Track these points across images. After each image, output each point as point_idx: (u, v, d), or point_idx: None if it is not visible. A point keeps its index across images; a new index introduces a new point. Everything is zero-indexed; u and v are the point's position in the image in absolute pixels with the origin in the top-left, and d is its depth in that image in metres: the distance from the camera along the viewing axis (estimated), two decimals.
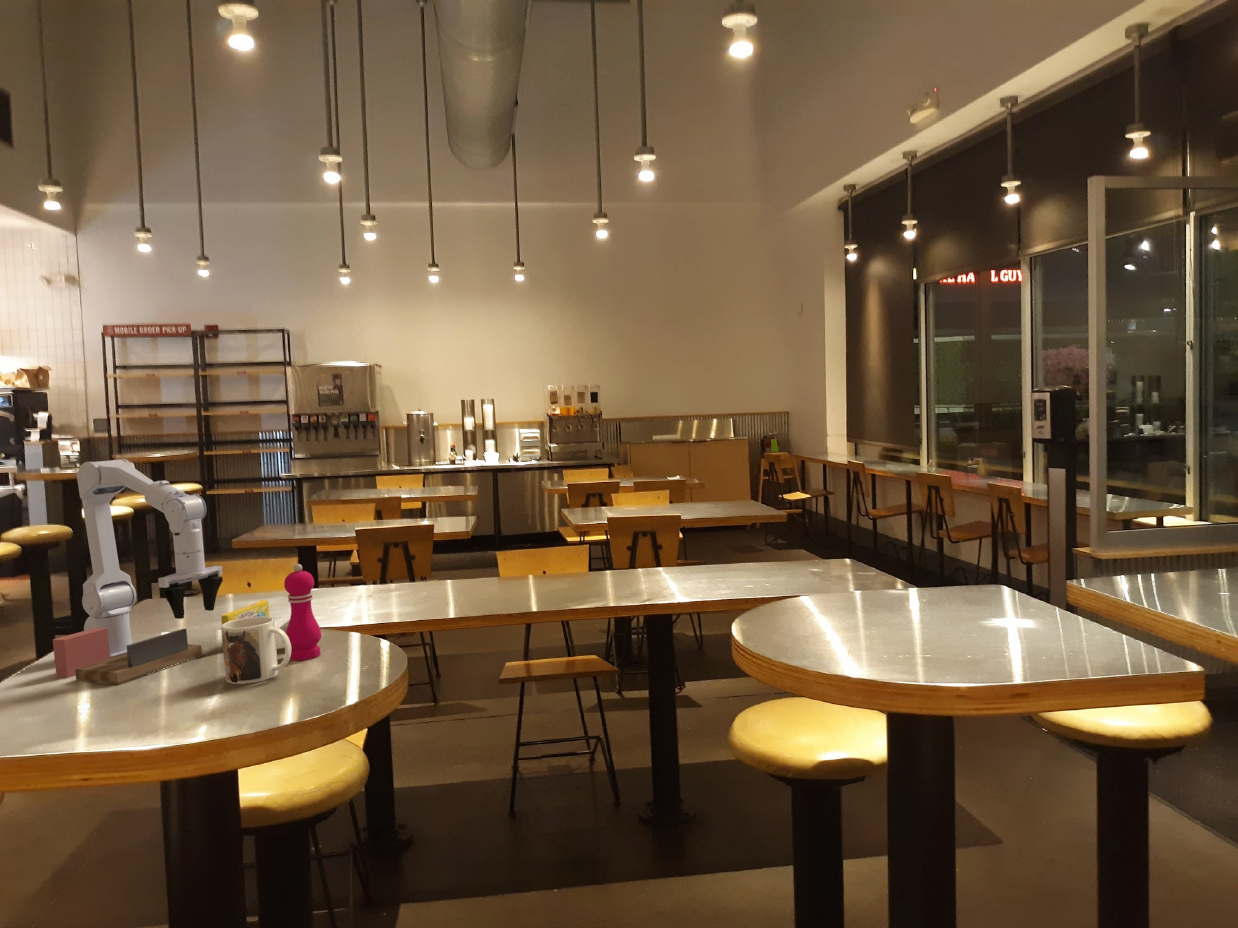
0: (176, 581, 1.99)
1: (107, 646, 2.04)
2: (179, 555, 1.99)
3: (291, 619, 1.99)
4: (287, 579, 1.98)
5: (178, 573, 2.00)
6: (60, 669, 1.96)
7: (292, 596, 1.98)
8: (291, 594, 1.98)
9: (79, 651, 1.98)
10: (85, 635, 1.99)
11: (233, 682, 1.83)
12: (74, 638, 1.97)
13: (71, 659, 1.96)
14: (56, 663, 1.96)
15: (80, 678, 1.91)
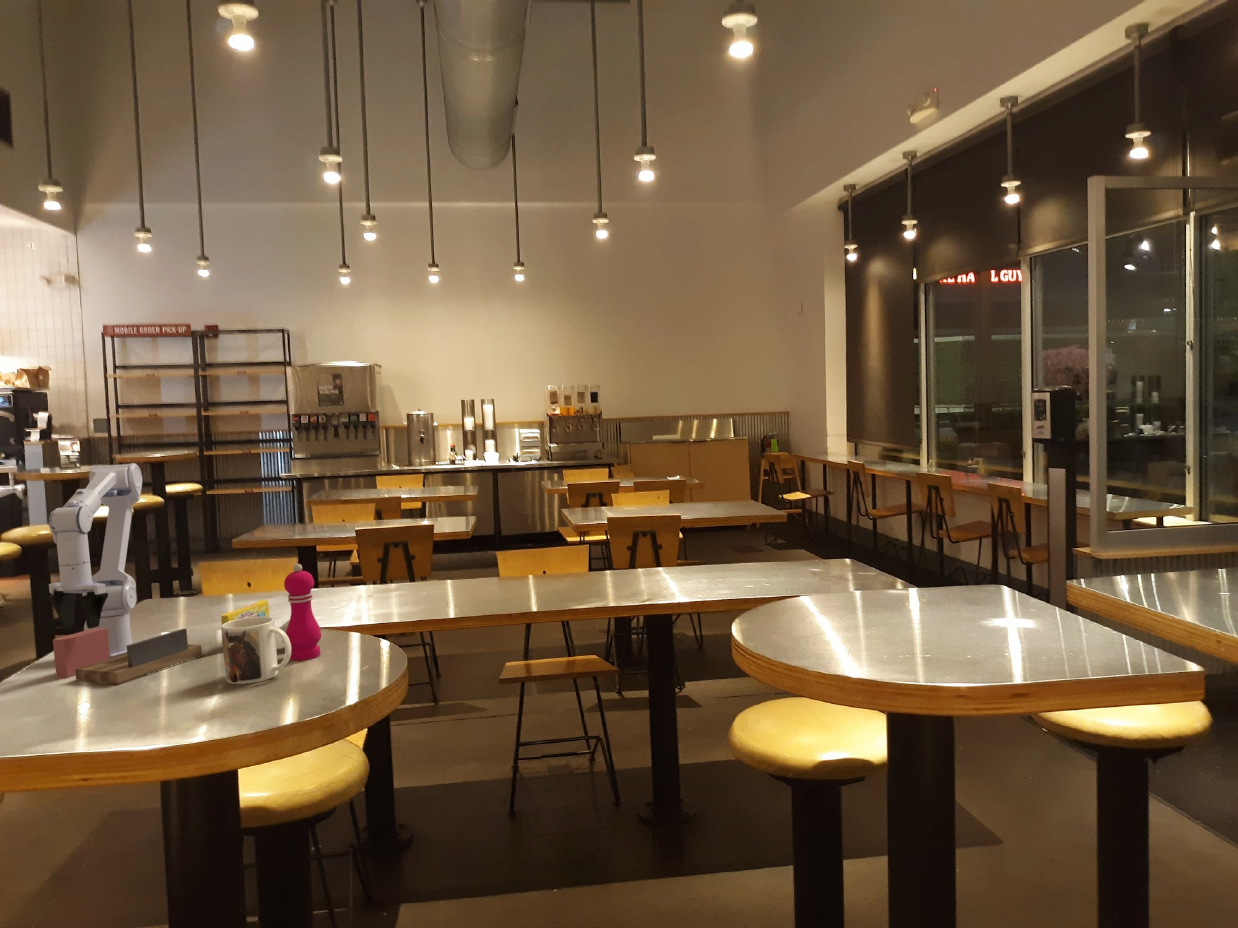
0: None
1: (107, 646, 2.04)
2: None
3: (291, 619, 1.99)
4: (287, 579, 1.98)
5: None
6: (60, 669, 1.96)
7: (292, 596, 1.98)
8: (291, 594, 1.98)
9: (80, 651, 1.98)
10: (85, 635, 1.99)
11: (233, 682, 1.83)
12: (74, 638, 1.97)
13: (71, 659, 1.96)
14: (56, 663, 1.96)
15: (80, 678, 1.91)
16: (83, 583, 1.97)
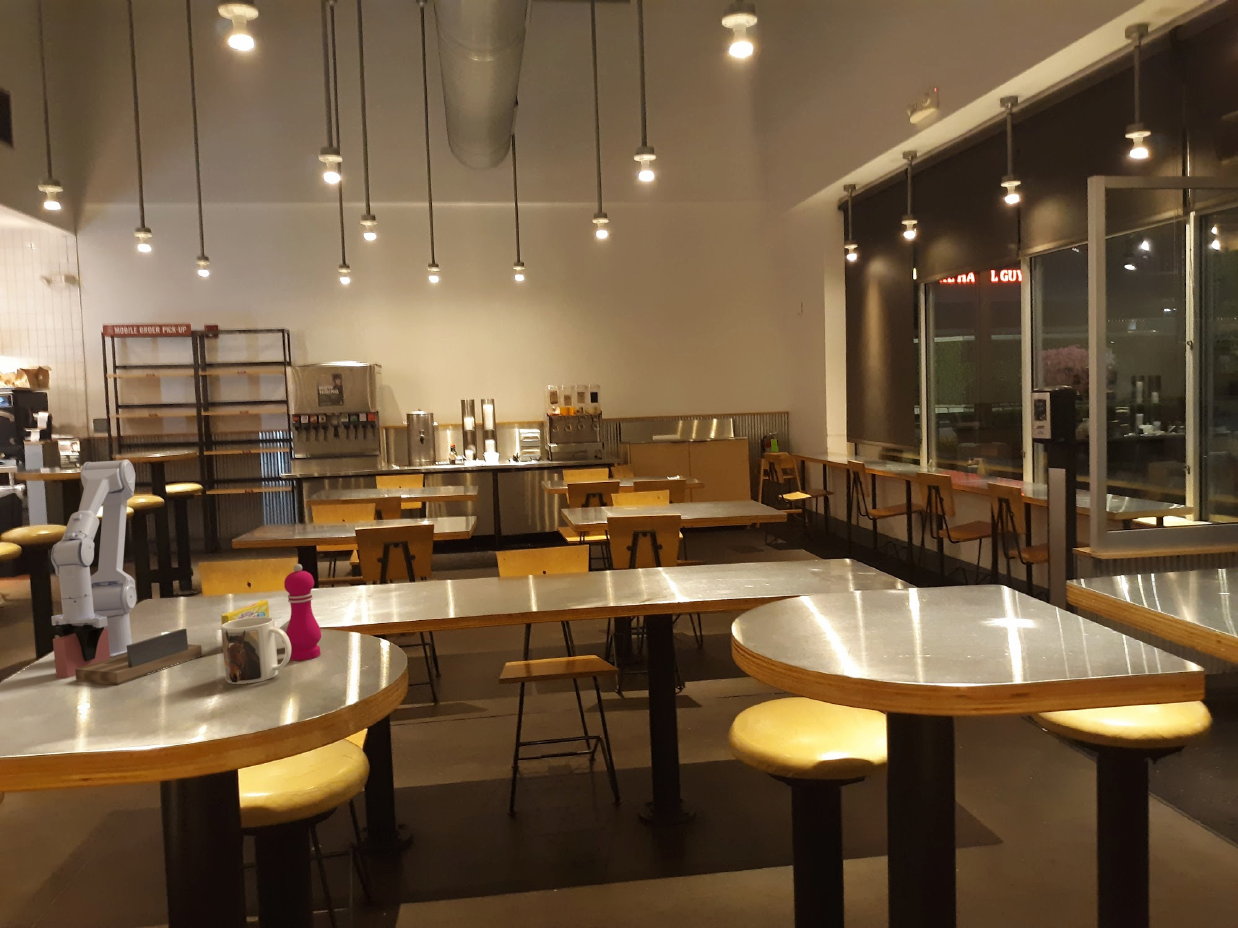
0: None
1: (107, 646, 2.03)
2: None
3: (291, 619, 1.99)
4: (287, 579, 1.98)
5: None
6: (60, 669, 1.96)
7: (292, 596, 1.98)
8: (291, 594, 1.98)
9: (80, 650, 1.98)
10: None
11: (233, 682, 1.83)
12: (74, 638, 1.97)
13: (71, 658, 1.96)
14: (56, 663, 1.96)
15: (80, 678, 1.91)
16: (85, 616, 1.98)
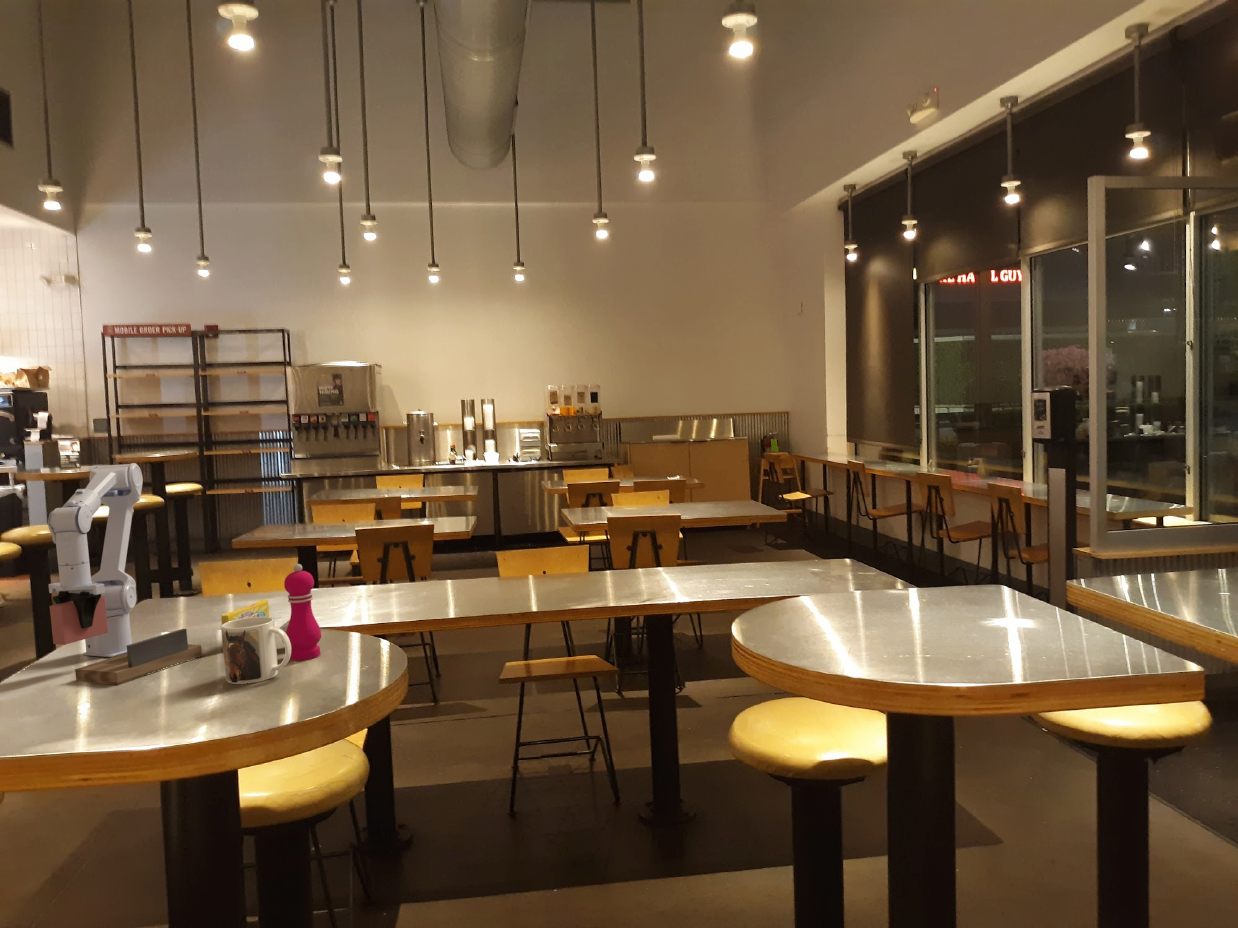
0: None
1: (104, 614, 2.03)
2: None
3: (291, 619, 1.99)
4: (287, 579, 1.98)
5: None
6: (57, 636, 1.95)
7: (292, 596, 1.98)
8: (291, 594, 1.98)
9: (77, 618, 1.97)
10: None
11: (233, 682, 1.83)
12: (71, 605, 1.96)
13: (68, 625, 1.95)
14: (53, 630, 1.95)
15: (80, 678, 1.91)
16: (82, 583, 1.97)
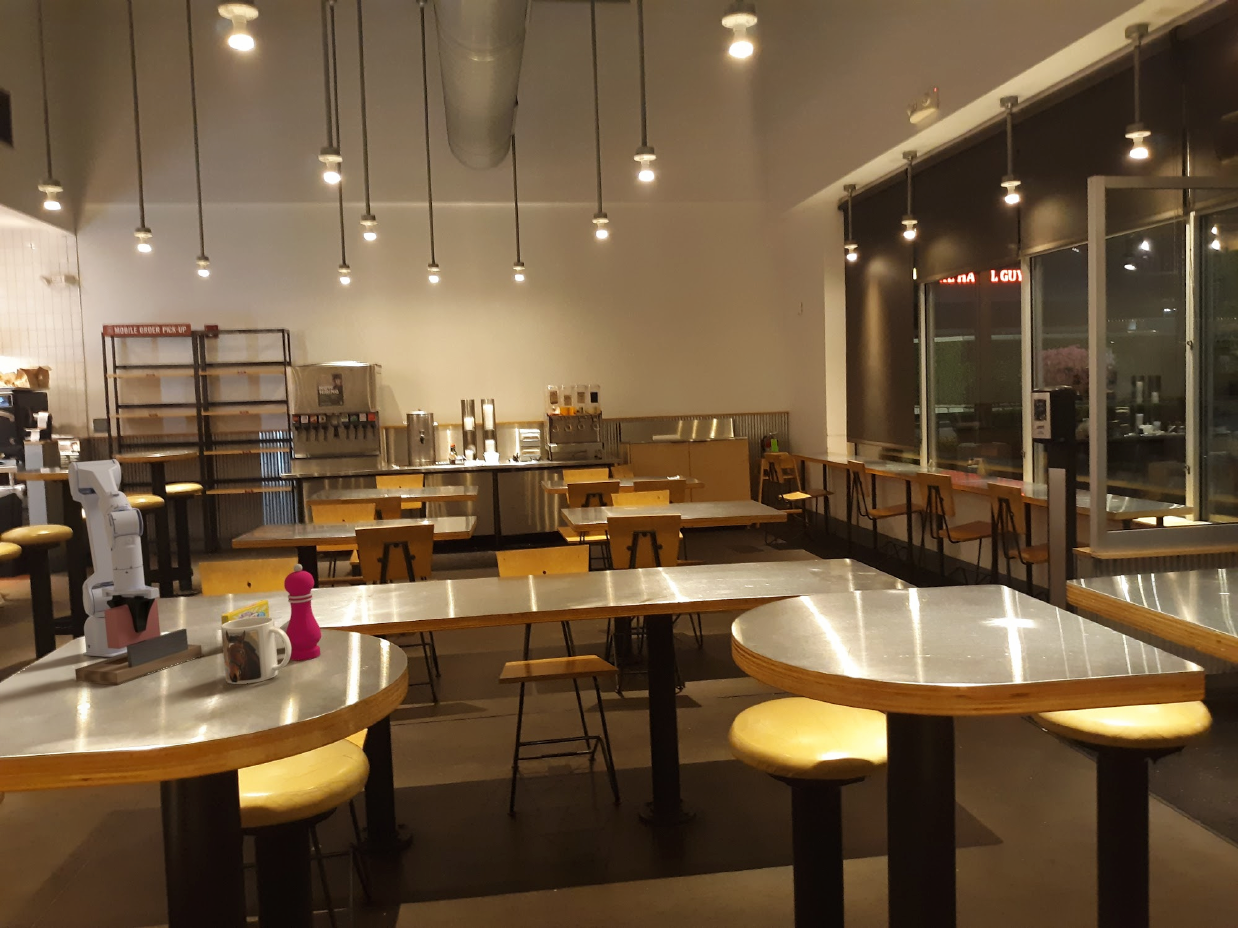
0: None
1: (157, 618, 2.02)
2: None
3: (291, 619, 1.99)
4: (287, 579, 1.98)
5: None
6: (112, 640, 1.94)
7: (292, 596, 1.98)
8: (291, 594, 1.98)
9: (131, 622, 1.96)
10: None
11: (233, 682, 1.83)
12: (125, 609, 1.95)
13: (123, 629, 1.95)
14: (107, 634, 1.95)
15: (80, 678, 1.91)
16: (136, 587, 1.97)
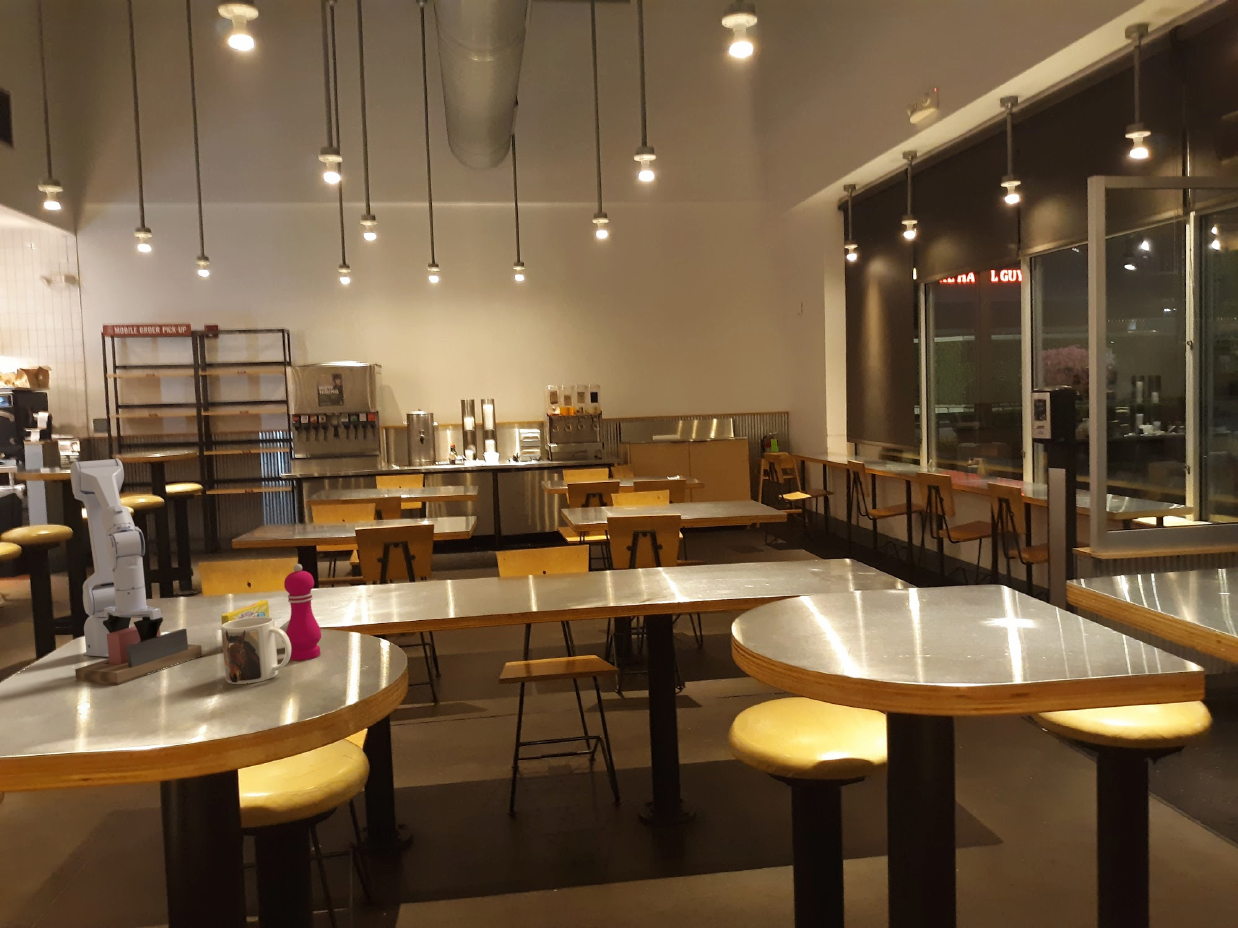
0: None
1: None
2: None
3: (291, 619, 1.99)
4: (287, 579, 1.98)
5: None
6: (114, 664, 1.95)
7: (292, 596, 1.98)
8: (291, 594, 1.98)
9: None
10: None
11: (233, 682, 1.83)
12: (128, 633, 1.96)
13: (125, 653, 1.95)
14: (110, 658, 1.95)
15: (80, 678, 1.91)
16: (138, 608, 1.97)
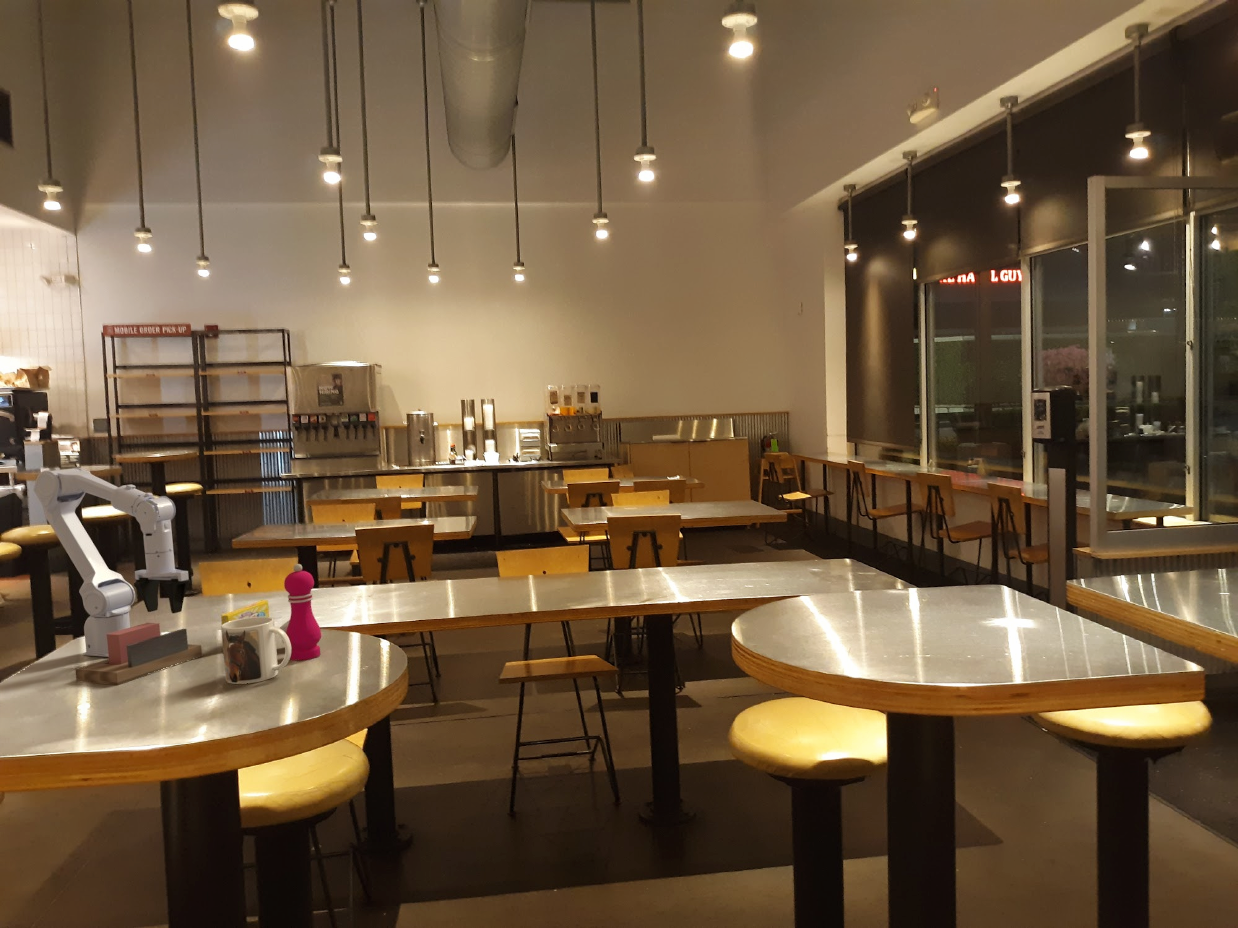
0: (148, 576, 2.12)
1: None
2: None
3: (291, 619, 1.99)
4: (287, 579, 1.98)
5: None
6: (114, 664, 1.95)
7: (292, 596, 1.98)
8: (291, 594, 1.98)
9: None
10: (138, 630, 1.98)
11: (233, 682, 1.83)
12: (128, 633, 1.96)
13: (125, 653, 1.95)
14: (110, 658, 1.95)
15: (80, 678, 1.91)
16: (167, 570, 2.08)
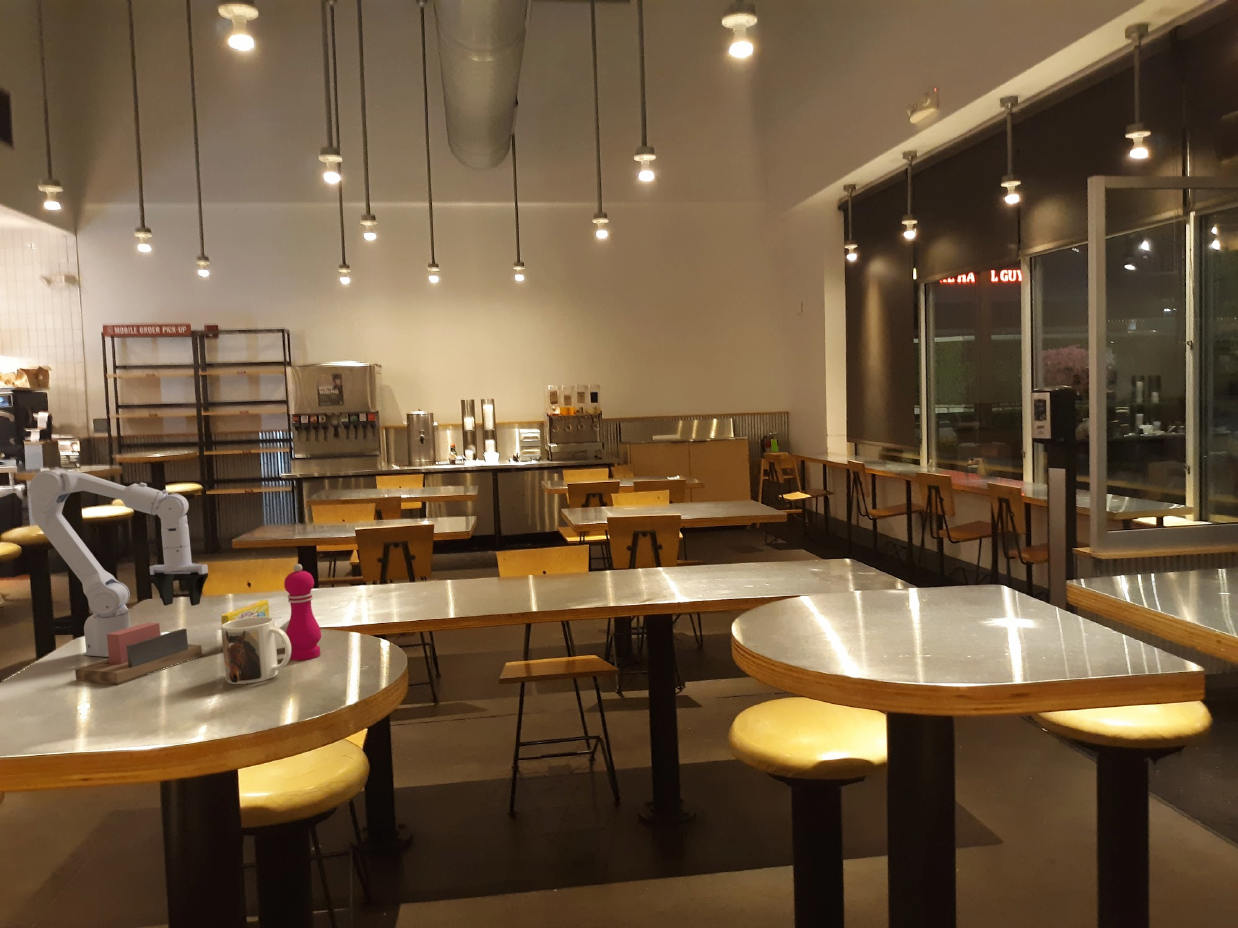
0: (163, 571, 2.18)
1: None
2: None
3: (291, 619, 1.99)
4: (287, 579, 1.98)
5: None
6: (114, 664, 1.95)
7: (292, 596, 1.98)
8: (291, 594, 1.98)
9: None
10: (138, 630, 1.98)
11: (233, 682, 1.83)
12: (128, 633, 1.96)
13: (125, 653, 1.95)
14: (110, 658, 1.95)
15: (80, 678, 1.91)
16: (186, 564, 2.16)
